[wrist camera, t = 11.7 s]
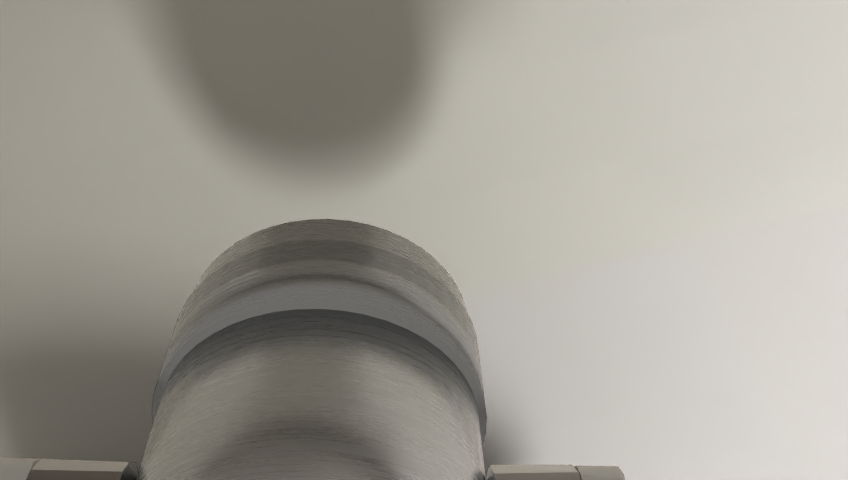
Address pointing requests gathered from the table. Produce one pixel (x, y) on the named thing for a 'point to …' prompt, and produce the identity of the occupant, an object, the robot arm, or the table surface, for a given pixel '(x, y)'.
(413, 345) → the container
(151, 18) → the table surface
